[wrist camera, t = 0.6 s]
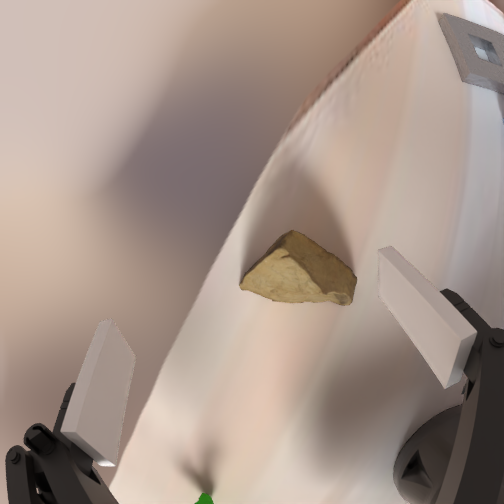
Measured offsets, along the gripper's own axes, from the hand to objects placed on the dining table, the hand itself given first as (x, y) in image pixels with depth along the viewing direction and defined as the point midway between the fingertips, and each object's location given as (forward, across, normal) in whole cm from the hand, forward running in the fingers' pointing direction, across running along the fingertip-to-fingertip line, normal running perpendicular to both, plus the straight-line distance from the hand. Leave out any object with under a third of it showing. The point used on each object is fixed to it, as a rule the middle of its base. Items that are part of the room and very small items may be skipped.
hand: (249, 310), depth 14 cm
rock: (+14, -5, +9) cm, 17 cm away
